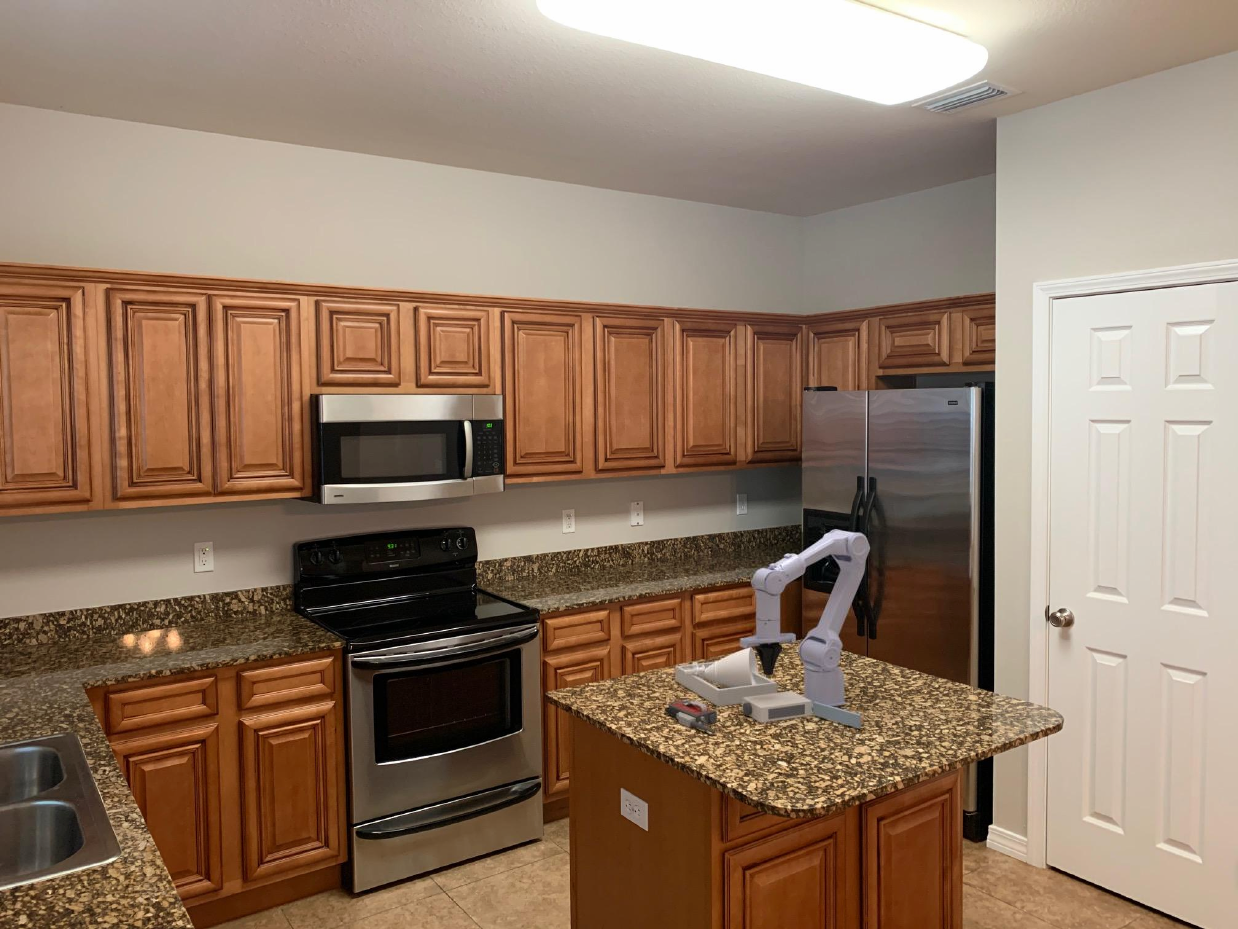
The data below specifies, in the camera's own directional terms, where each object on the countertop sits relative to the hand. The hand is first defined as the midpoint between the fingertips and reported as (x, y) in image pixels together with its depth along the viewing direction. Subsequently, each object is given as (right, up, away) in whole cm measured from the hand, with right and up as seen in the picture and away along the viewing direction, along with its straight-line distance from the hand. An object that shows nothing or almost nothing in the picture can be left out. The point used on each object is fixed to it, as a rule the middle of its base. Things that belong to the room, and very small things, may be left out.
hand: (768, 674), depth 227 cm
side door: (+15, -9, -8) cm, 19 cm away
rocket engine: (-9, -8, +20) cm, 23 cm away
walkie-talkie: (-18, -11, -6) cm, 22 cm away
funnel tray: (-8, -9, +20) cm, 23 cm away
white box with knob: (+2, -9, -1) cm, 10 cm away
